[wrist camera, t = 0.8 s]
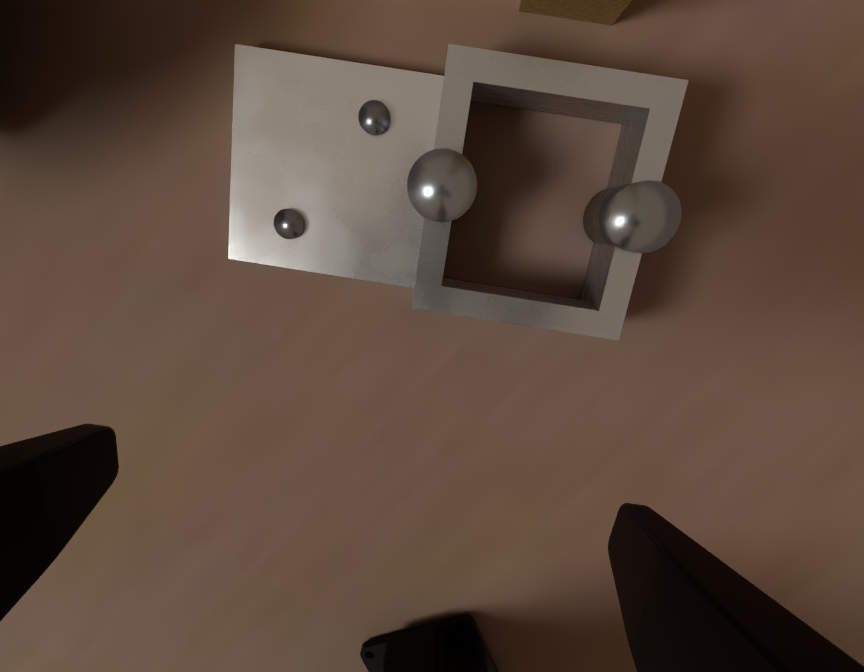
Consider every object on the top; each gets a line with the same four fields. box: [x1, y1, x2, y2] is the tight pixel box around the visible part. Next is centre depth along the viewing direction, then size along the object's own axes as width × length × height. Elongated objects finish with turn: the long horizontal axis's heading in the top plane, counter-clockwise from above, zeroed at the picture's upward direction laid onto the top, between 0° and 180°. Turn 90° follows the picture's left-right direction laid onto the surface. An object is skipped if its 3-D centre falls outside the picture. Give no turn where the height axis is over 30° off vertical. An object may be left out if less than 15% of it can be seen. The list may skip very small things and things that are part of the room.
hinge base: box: [228, 44, 689, 340], centre depth 17 cm, size 17×9×3 cm, turn 81°
